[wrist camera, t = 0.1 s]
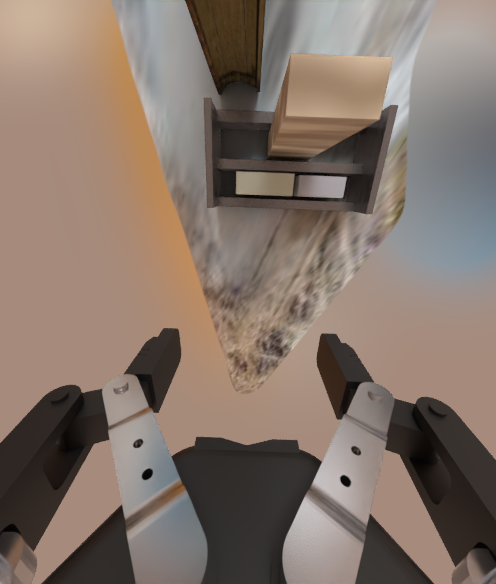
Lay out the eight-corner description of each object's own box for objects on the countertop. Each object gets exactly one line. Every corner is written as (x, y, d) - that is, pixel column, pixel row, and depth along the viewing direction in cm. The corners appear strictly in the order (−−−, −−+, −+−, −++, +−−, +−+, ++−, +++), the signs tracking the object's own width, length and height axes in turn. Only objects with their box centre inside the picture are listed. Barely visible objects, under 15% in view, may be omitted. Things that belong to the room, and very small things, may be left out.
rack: (214, 118, 33) (203, 97, 26) (365, 124, 33) (398, 105, 26) (216, 204, 38) (207, 207, 30) (348, 209, 38) (372, 214, 30)
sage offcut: (240, 175, 36) (236, 171, 28) (285, 177, 36) (294, 173, 28) (239, 193, 37) (236, 194, 29) (283, 195, 37) (292, 196, 29)
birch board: (268, 135, 34) (290, 53, 14) (309, 137, 34) (393, 57, 14) (266, 159, 35) (285, 115, 15) (306, 160, 35) (379, 119, 15)
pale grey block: (291, 177, 36) (299, 175, 30) (330, 179, 36) (346, 176, 30) (289, 195, 37) (297, 196, 31) (327, 196, 37) (342, 198, 31)
